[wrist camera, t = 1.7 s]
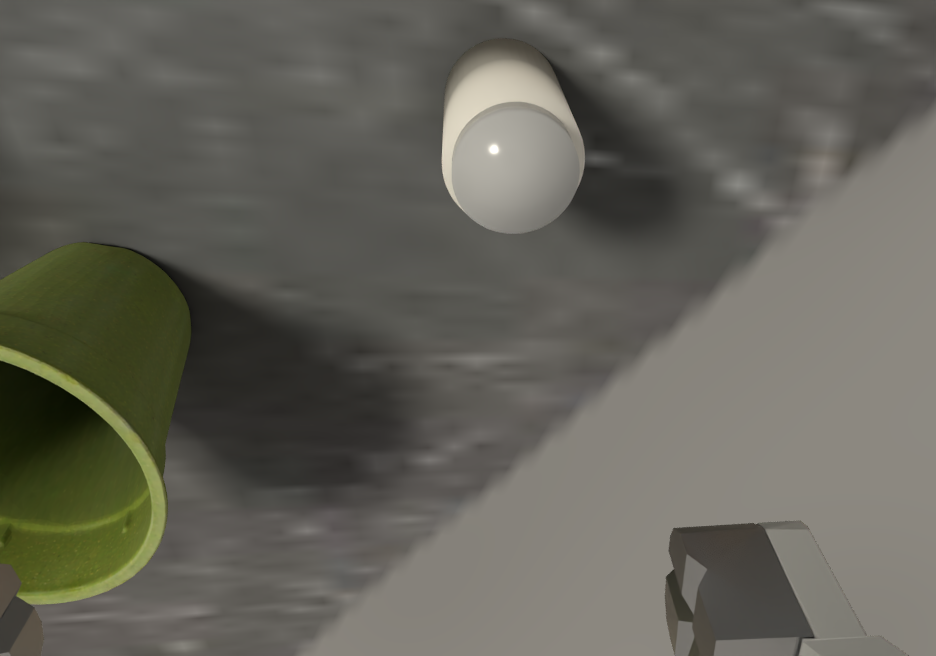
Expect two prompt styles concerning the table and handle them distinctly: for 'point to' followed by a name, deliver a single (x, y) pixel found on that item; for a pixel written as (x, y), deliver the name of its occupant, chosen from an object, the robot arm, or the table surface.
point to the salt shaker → (509, 138)
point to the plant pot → (86, 417)
